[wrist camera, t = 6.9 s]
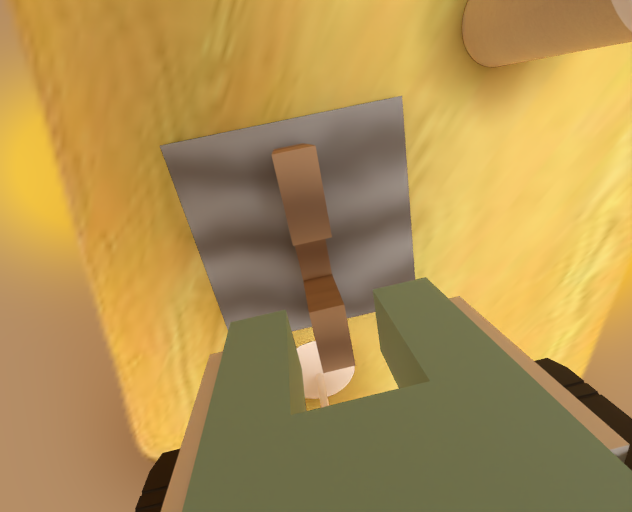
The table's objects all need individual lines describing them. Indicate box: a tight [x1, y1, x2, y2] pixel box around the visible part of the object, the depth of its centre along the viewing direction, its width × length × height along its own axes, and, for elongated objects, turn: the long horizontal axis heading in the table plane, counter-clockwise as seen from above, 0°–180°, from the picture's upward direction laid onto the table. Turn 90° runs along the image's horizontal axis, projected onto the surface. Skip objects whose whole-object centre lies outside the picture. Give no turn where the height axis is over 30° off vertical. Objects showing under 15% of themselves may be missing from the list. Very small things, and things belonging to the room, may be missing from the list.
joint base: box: [160, 96, 415, 373], centre depth 24 cm, size 20×20×10 cm
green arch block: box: [182, 277, 632, 512], centre depth 9 cm, size 4×9×10 cm, turn 101°
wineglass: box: [297, 341, 354, 408], centre depth 25 cm, size 9×10×23 cm
